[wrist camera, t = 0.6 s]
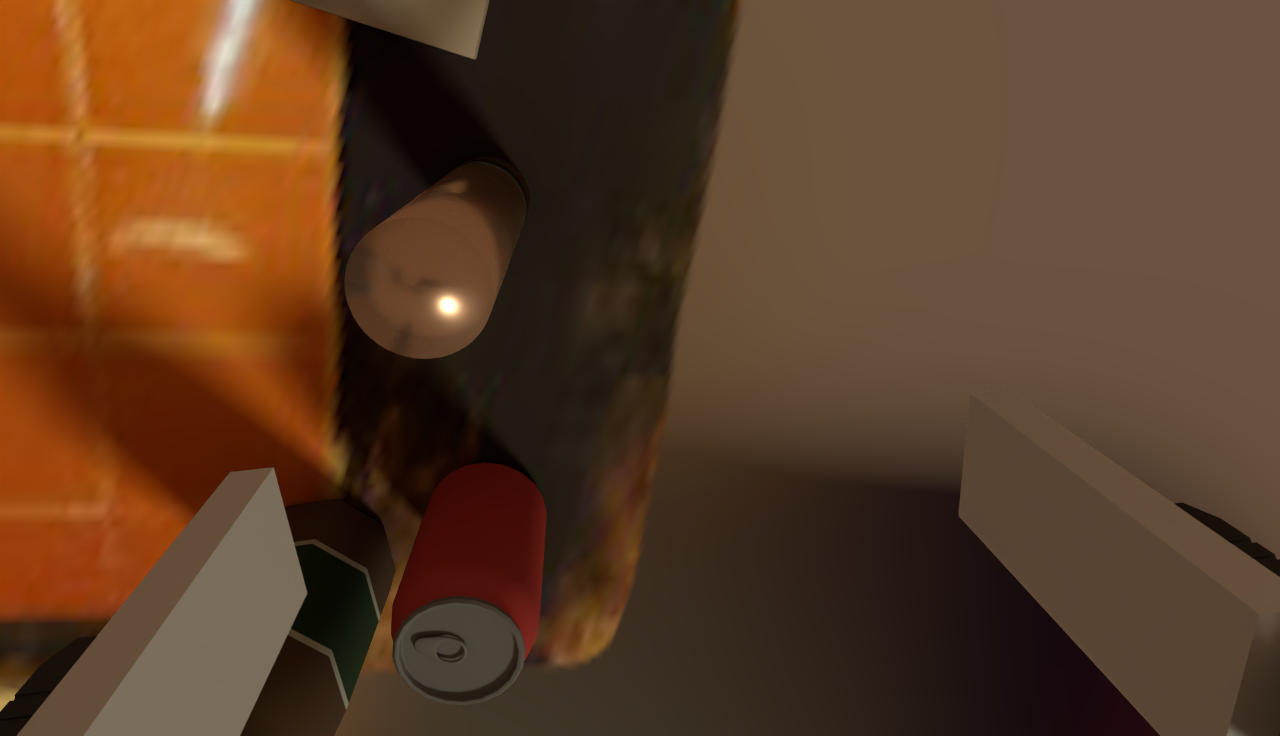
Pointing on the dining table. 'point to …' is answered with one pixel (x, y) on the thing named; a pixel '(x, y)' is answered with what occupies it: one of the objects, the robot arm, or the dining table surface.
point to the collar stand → (418, 19)
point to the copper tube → (439, 261)
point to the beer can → (471, 586)
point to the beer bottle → (326, 620)
